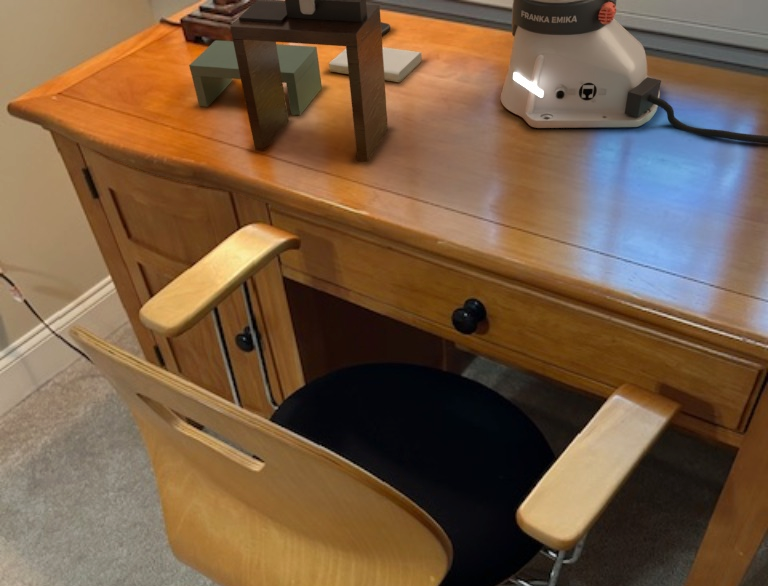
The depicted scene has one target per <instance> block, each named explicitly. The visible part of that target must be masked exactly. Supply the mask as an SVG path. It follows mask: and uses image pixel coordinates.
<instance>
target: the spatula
mask: <svg viewBox="0 0 768 586" xmlns="http://www.w3.org/2000/svg"><path fill="white" fill-rule="evenodd" d="M317 4H318V8H317V10H316V11H315V12H314V13H313V14H303V13H302V12H301V10H300V3H299V0H285V2H266V1H258V0H256V1H255V2H254V3H253V4H251V5H250V6H249V7H248V8H247V9H246V10H245V11H243V13H242V14H241V15H240V16H239V17H238V19H239V21H249V22H266V23H283V22H284V21H285V20H286V19H287V18H296V19H314V20H332V21H350V22H362V21H363V20H364V18H365V17H366V16H367V8H366V5H367V0H317Z"/></svg>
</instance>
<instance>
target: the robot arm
mask: <svg viewBox="0 0 768 586" xmlns="http://www.w3.org/2000/svg"><path fill="white" fill-rule="evenodd" d="M299 3H300V10H301V12H302V13H303V14H313V13H314V12H315V11H316V10H317V8H318V4H317V0H299ZM616 13H617V0H512V7H511V28H512V29H511V33H512V46H511V51H510V52H511V53H510V57H509V63H508V67H507V72H506V76H505V80H504V83H503V86H502V89H501V93H500V95H499V97H500V102H501V104H502V105H503V107H504V108H505V109H506V110H508V111H509V112H511V113H513V114H515V115H517V116H519V117H520V118H522V119H523V120H524V122H526V123H527V124H528V126H530V127H532V128H535V129H536V128H537V129H550V128H551V129H554V128H555V129H559V128H561V129H562V128H563V129H565V128H566V129H568V128H569V129H570V128H572V129H573V128H575V129H576V128H577V129H579V128H638V127H641V126H643V125H645V124H646V123H648V122H649V121H650V120H651V119H652V118H653V117H654V115H656V112H657V111H658V107H660V108H661V109H663V110H664V111H665V112H666V117H667V120H668V123H669V124H670V125H672V126H673V127H674V128H676V129H678V130H681V131H685V132H687V133H690V134H694V135H698V136H703V137H713V138H720V139H726V140H732V141H733V140H734V141H739V142H748V143H758V144H759V143H760V144H768V135H763V134H762V135H760V134H752V133H751V134H749V133H741V132H736V131H729V130H722V129H714V128H713V129H712V128H699V127H694V126H690V125H687V124H685V123H683V122H681V121H680V120H679V119H677V118H676V116H675V111H674V108H673V106H671V104H670V103H668V101H666V100H665V99H662V98H660V97H661V96H660V94H661V91H660V90H661V89H660V88H661V84H662V83H661V82H662V80H661V79H657V78H653V77H651V76H648V61H647V54H646V50H645V47H644V45H643V44H642V43H641V42H640V41H639V40H638V39H636V37H635V36H633V35H632V34H631V32H629V31H628V30H627V29H625V27H624V26H622V25H621V23H619V21H617V20H616V19H615V16H616Z"/></svg>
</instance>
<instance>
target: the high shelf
mask: <svg viewBox="0 0 768 586" xmlns="http://www.w3.org/2000/svg"><path fill="white" fill-rule="evenodd" d="M257 1H266V2H285V0H257ZM380 6H381V5H380V4H366V8H367V16H366V17H365V18H364V20H363V21H362V22H350V21H332V20H314V19H296V18H287V19H286V20H285V21H284V22H283V23H266V22H249V21H239V18H237V20H235V21H234V22H233V23H232V24H231V25H230V26H229V27H230V33H231V38H232V41H233V43H234V48H235V53H236V58H237V63H238V68H239V73H240V78H241V79H240V82H241V86H242V92H243V98H244V103H245V108H246V112H247V116H248V122H249V126H250V133H251V136H252V142H253V147H254V150H255V151H259V152H265V151H266V150H267V149H268V148H269V146H270V145H271V144H272V143H273V142H274V140H275V139H276V138H277V136H278V135H279V134H280V132H281V131H282V130H283V129H284V128H285V126H287V124H288V123H289V121H290V120H289V114H288V109H287V108H288V107H287V102H286V95H285V89H284V83H282V77H281V71H280V65H279V59H278V52H277V46H276V44H277V43H286V44H287V43H288V44H301V45H319V46H335V47H345V49H346V51H347V61H348V71H349V74H348V80H349V81H348V82H349V91H350V100H351V101H350V102H351V109H352V120H353V131H354V140H355V141H354V142H355V151H356V159H357V160H356V161H358V162H366V163H368V162H369V160H370V159H371V157H372V156H373V154H374V152H375V151H376V150H377V148H378V146H379V145H380V144H381V142H382V140H383V139H384V137H385V135H386V134H387V132H388V131H389V125H388V111H387V95H386V80H385V78H384V63H383V48H382V47H383V35H382V33H381V22H382V21H381V20H382V19H381V7H380Z"/></svg>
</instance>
